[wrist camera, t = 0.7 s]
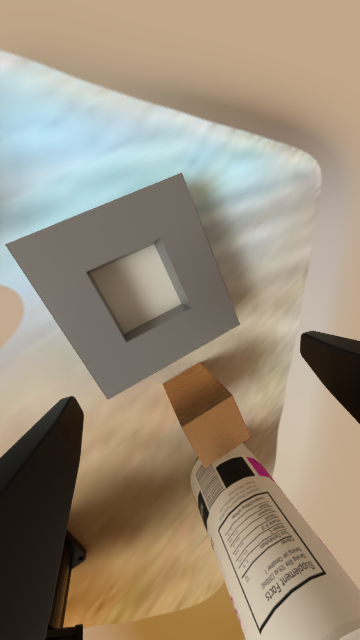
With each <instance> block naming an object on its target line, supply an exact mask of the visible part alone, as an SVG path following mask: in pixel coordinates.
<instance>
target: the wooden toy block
mask: <svg viewBox="0 0 360 640" xmlns="http://www.w3.org/2000/svg"><path fill="white" fill-rule="evenodd" d="M163 386H164V389H165V391H166V393H167V395H168V398H169V400H170V402H171V404H172V407H173V409H174V411H175V413H176V416H177V418H178V420H179V422H180V425H181V427H182V429H183V431H184V432H185V434H186V436H187V438H188V439H189V441H190V443H191V445H192V447H193V448H194V450H195V452H196V454H197V456H198V457H199V459H200V461H201V463H202V464H203V466H204V468H206V467H208V466H209V465H211V464H212V463H214V462H215V461H217V460H218V459H220V458H221V457H223V456H224V455H226V454H227V453H228V452H230V451H231V450H233V449H234V448H236V447H237V446H239V445H240V444H242V443H243V442H245V441H246V440H248V439H249V438H250V437H251V436H250V434H249V432H248V429H247V427H246V425H245V423H244V420H243V418H242V416H241V414H240V411H239V409H238V407H237V405H236V402H235V400H234V398H233V395H232V394H231V393H230V392H229V391H228V390H227V389H226V388H225V387H224V386H223V385H222V384H221V383H220V382H219V381H218V380H217V379H216V378H215V377H214V376H213V375H212V374H211V373H210V372H209V371H208V370H207V369H206V368H205V367H204V366H203V365H202V364H201V363H198V364H196V365H194V366H193V367H191V368H189V369H188V370H186V371H184V372H182V373H181V374H179V375H177V376H176V377H174V378H172V379H170V380H169V381H167V382H165V383H164V384H163Z"/></svg>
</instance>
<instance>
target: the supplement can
mask: <svg viewBox="0 0 360 640" xmlns="http://www.w3.org/2000/svg"><path fill="white" fill-rule="evenodd" d="M190 480H191V489H192V492H193V494H194V497H195V500H196V503H197V505H198V508H199V511H200V514H201V517H202V519H203V522H204V525H205V528H206V530H207V533H208V536H209V539H210V541H211V544H212V547H213V550H214V553H215V555H216V558H217V561H218V564H219V566H220V569H221V572H222V575H223V577H224V580H225V583H226V586H227V589H228V591H229V594H230V597H231V600H232V602H233V605H234V608H235V611H236V613H237V616H238V619H239V622H240V624H241V627H242V630H243V633H244V636H245V638H246V640H360V590H359V589H358V587H357V586H356V585H355V584H354V582H353V581H352V580H351V579H350V577H349V576H348V574H347V573H346V572H345V571H344V569H343V568H342V567H341V566H340V564H339V563H338V562H337V561H336V559H335V558H334V557H333V555H332V554H331V553H330V552H329V550H328V549H327V548H326V546H325V545H324V544H323V543H322V541H321V540H320V539H319V537H318V536H317V535H316V534H315V532H314V531H313V530H312V529H311V527H310V526H309V525H308V524H307V522H306V521H305V520H304V518H303V517H302V516H301V514H300V513H299V512H298V511H297V509H296V508H295V507H294V506H293V504H292V503H291V502H290V501H289V499H288V498H287V497H286V495H285V494H284V493H283V492H282V490H281V489H280V488H279V486H278V485H277V484H276V483H275V481H274V480H273V479H272V477H271V476H270V475H269V474H268V472H267V471H266V470H265V469H264V467H263V466H262V465H261V463H260V462H259V461H258V460H257V458H256V457H255V456H254V454H253V453H252V452H251V451H250V449H249V448H248V447H246V446H245V445H244V444H243V443H242V444H240V445H239V446H237V447H236V448H234V449H233V450H231V451H230V452H228V453H227V454H226V455H224V456H223V457H221V458H220V459H218V460H217V461H215V462H214V463H212V464H211V465H209V466H208V467H206V468H204V466H203V464H202V463H201V461H200V459H199V458H198V460H197V461H196V464H195V465H194V467H193V470H192V474H191V477H190Z"/></svg>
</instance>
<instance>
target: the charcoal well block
mask: <svg viewBox="0 0 360 640" xmlns="http://www.w3.org/2000/svg"><path fill="white" fill-rule="evenodd" d="M5 245H6V247H7V248H8V250H9V251H10V253H11V254H12V256H13V257H14V259H15V260H16V262H17V263H18V265H19V266H20V268H21V269H22V271H23V272H24V274H25V275H26V277H27V278H28V280H29V281H30V283H31V285H32V286H33V288H34V289H35V291H36V292H37V294H38V295H39V297H40V298H41V300H42V301H43V303H44V304H45V306H46V307H47V309H48V310H49V312H50V313H51V315H52V316H53V318H54V319H55V321H56V322H57V324H58V325H59V327H60V328H61V330H62V331H63V333H64V334H65V336H66V337H67V339H68V340H69V342H70V343H71V345H72V347H73V348H74V350H75V351H76V353H77V354H78V356H79V357H80V359H81V360H82V362H83V363H84V365H85V366H86V368H87V369H88V371H89V372H90V374H91V375H92V377H93V378H94V380H95V381H96V383H97V384H98V386H99V387H100V389H101V390H102V392H103V393H104V395H105V396H106V398H107V399H110V398H112V397H113V396H115V395H117V394H119V393H120V392H122V391H124V390H126V389H127V388H129V387H131V386H133V385H134V384H136V383H138V382H140V381H141V380H143V379H145V378H147V377H149V376H150V375H152V374H154V373H156V372H157V371H159V370H161V369H163V368H164V367H166V366H168V365H170V364H171V363H173V362H175V361H177V360H178V359H180V358H182V357H184V356H185V355H187V354H189V353H191V352H192V351H194V350H196V349H198V348H199V347H201V346H203V345H205V344H206V343H208V342H210V341H212V340H213V339H215V338H217V337H219V336H220V335H222V334H224V333H226V332H227V331H229V330H231V329H233V328H234V327H236V326H238V325H240V323H239V320H238V318H237V315H236V313H235V310H234V307H233V305H232V302H231V300H230V297H229V294H228V292H227V289H226V287H225V284H224V281H223V279H222V276H221V274H220V271H219V268H218V266H217V263H216V261H215V258H214V255H213V253H212V250H211V248H210V245H209V242H208V240H207V237H206V235H205V232H204V229H203V227H202V224H201V222H200V219H199V216H198V214H197V211H196V209H195V206H194V203H193V201H192V198H191V196H190V193H189V190H188V188H187V185H186V183H185V180H184V177H183V175H182V173H180V174H177V175H175V176H173V177H170V178H168V179H165V180H163V181H160V182H158V183H155V184H153V185H150V186H148V187H146V188H143V189H141V190H138V191H136V192H133V193H131V194H128V195H126V196H123V197H121V198H118V199H116V200H114V201H111V202H109V203H106V204H104V205H101V206H99V207H96V208H94V209H91V210H89V211H87V212H84V213H82V214H79V215H77V216H74V217H72V218H69V219H67V220H64V221H62V222H59V223H57V224H55V225H52V226H50V227H47V228H45V229H42V230H40V231H37V232H35V233H32V234H30V235H28V236H25V237H23V238H20V239H18V240H15V241H13V242H10V243H8V244H5Z"/></svg>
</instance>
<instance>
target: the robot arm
mask: <svg viewBox="0 0 360 640" xmlns="http://www.w3.org/2000/svg"><path fill="white" fill-rule="evenodd" d="M300 353H301V355H302V357H303V358H304V359H305V361H306V362H307V363H308V365H309V366H310V367H311V369H312V370H313V371H314V373H315V374H316V375H317V377H318V378H319V379H320V380H321V382H322V383H323V384H324V386H326V388H327V389H328V390H329V391H330V393H331V394H332V395H333V396H334V397H335V398H336V399H337V400H338V401H339V402H340V403H341V404H342V405H343V406H344V408H345V409H346V410H347V411H348V412H349V413H350V414H351V415H352V416H353V417H354V418H355V419H356V420H357V422H358V423H359V424H360V341H357V340H352V339H348V338H343V337H339V336H335V335H330V334H325V333H320V332H316V331H309V332H305V333H303V334H302V335H301V342H300ZM83 421H84V414H83V411H82V409H81V407H80V405H79V404H78V402H77V400H76V398H75V397H73V396H70V397H66V398H63V399H61V400H60V401H59V402H58V403H57V404H55V405H54V406H53V407H52V408H51V409H50V410H49V411H48V412H47V413H46V414H45V415H44V416H43V417H42V418H41V419H40V420H39V421H38V422H37V423H36V424H35V425H34V426H33V427H32V428H31V429H30V430H29V431H28V432H27V433H26V434H24V435H23V436H22V437H21V438H20V439H19V440H18V441H17V442H16V443H15V444H14V445H13V446H12V447H11V448H10V449H9V450H8V451H7V452H6V453H5V454H4V455H3V456H2V457H1V458H0V640H83V624H80V625H75V627H66V628H63V623H64V617H65V610H66V604H67V597H68V590H69V584H70V577H71V570H72V569H73V568H74V567H76V566H77V565H79V564H80V563H81V562H83V561H84V560H85V559H86V551H85V550H84V549H83V548H82V547H81V545H80V544H79V543H78V542H77V541H76V540H75V539H74V538H73V537H72V536H71V535H70V534H69V533H68V532H67V531H66V530H67V525H68V519H69V514H70V509H71V504H72V499H73V493H74V488H75V483H76V478H77V473H78V468H79V462H80V455H81V444H82V432H83Z"/></svg>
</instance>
